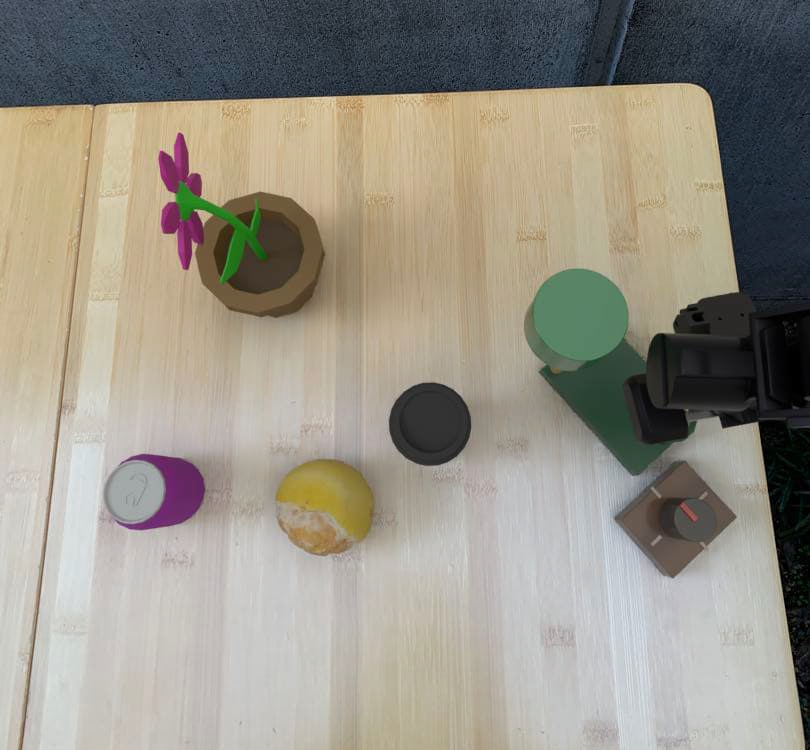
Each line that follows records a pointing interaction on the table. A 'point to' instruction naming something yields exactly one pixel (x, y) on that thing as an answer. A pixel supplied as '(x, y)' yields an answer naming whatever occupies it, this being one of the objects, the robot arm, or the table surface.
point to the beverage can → (153, 492)
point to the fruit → (325, 506)
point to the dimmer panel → (645, 521)
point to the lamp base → (609, 405)
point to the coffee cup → (430, 424)
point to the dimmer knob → (688, 519)
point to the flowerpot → (243, 242)
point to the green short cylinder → (576, 319)
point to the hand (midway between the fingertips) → (696, 404)
